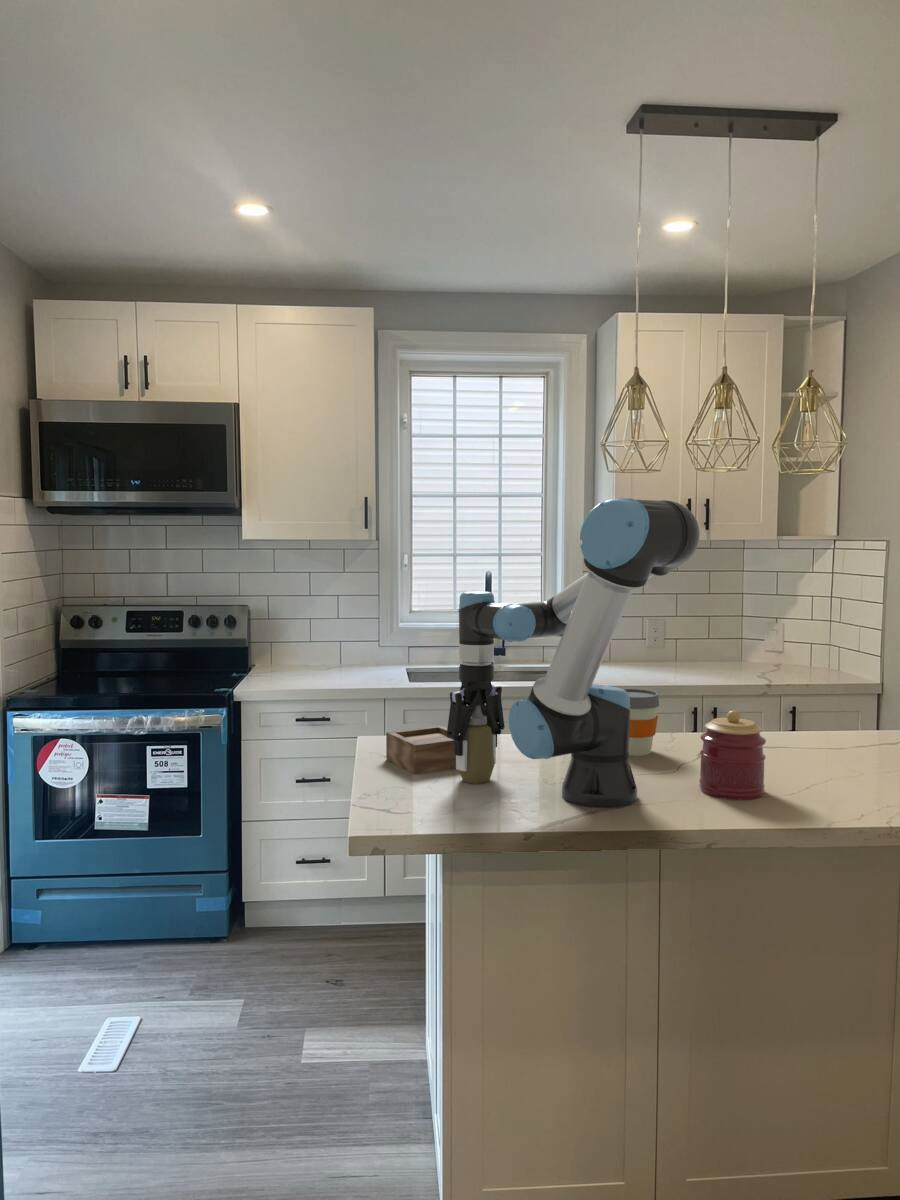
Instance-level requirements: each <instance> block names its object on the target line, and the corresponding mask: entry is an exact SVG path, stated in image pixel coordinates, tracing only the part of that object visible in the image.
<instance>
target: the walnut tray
mask: <svg viewBox="0 0 900 1200" xmlns="http://www.w3.org/2000/svg"><path fill="white" fill-rule="evenodd" d="M447 728H448V727H446V726H443V725H436V726H427V727H421V728H420V727H419V728H412V729H411V728H410V729H402V730H393V731H387V732H385V733H386V734H385V736H386V744H385V745H386V746H385V747H386V752H385V753H386V755H385V756H386V758H385V759H386V762H387V761H388V762H389V763H392V764H394V765H396V767H397V766H398V767H400V768H401V769H403V770H405V771H407V772H409V773H412V774H413V775H422V774H429V773H434V772H436V773H437V772H440V771H441V772H442V770H443V771H449V770H453V768H456V755H455V754H454V740H453V739H451V738H447ZM459 735H460V733H459ZM448 769H449V770H448Z"/></svg>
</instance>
